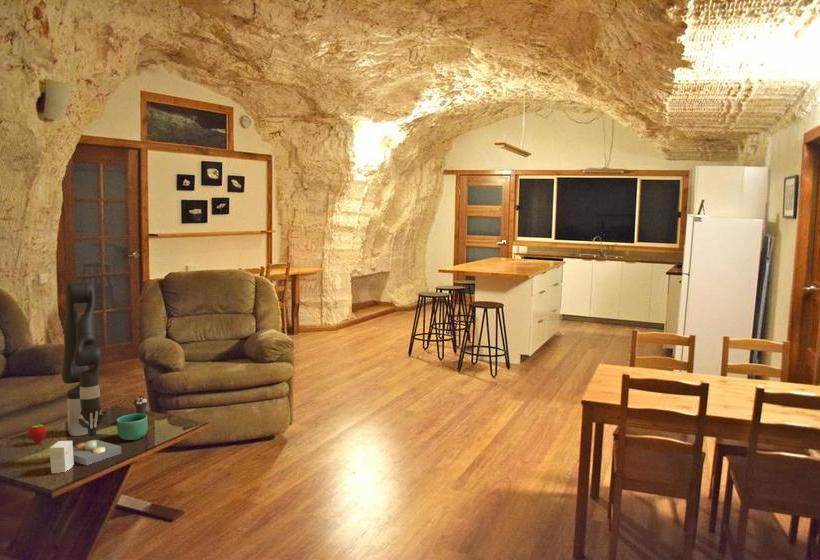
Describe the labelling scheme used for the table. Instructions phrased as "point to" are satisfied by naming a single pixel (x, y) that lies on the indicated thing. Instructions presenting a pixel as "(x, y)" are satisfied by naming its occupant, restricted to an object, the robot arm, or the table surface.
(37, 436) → the strawberry
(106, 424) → the table surface
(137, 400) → the sundae
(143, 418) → the mug
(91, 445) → the button sage
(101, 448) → the button cream
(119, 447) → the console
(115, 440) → the table surface
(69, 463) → the small box
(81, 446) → the button terracotta
